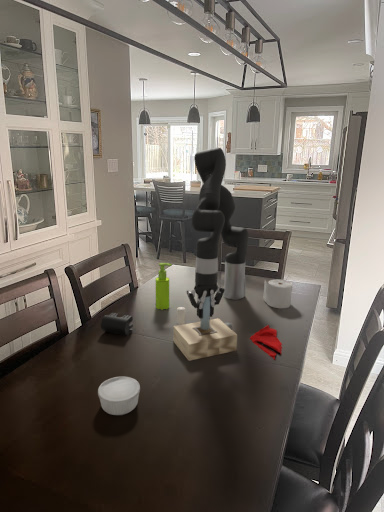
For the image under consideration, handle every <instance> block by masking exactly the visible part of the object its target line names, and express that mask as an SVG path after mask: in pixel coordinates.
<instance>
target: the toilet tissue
mask: <svg viewBox="0 0 384 512" xmlns="http://www.w3.org/2000/svg"><path fill="white" fill-rule="evenodd" d="M263 286H264V287H263V296H262V297H263V300H264V302H265V303H266V304H267V305H268V306H269V307H271V308H275V309H288V308H290V307H291V303H292V292H293V283H292V282H291V281H289V280H286V279H278V278H277V279H270V280H268V281H267V280H266V279H264V285H263Z"/></svg>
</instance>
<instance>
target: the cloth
mask: <svg viewBox="0 0 384 512" xmlns="http://www.w3.org/2000/svg"><path fill="white" fill-rule="evenodd" d="M277 334H278V333H277V329H275V328H271V327H270V326H269V324H267V325H266V326H264V327H262V328H260V329H259V330H258V331H256V332H255V333H254V334H252V335H251V336H250V337H249V340H250V341H251V342H252V343H253V344H254V345H256V347H257V348H259V349H260V350H261V351H263V352H264V353H265V354H267V355H268V357H270V358H272V359H273V360H274V361H276V358H275V357H276V356H277V353H280V355H282V349H283V346H282V345H283V344H282V342H281V341H280V339H279V337H277Z"/></svg>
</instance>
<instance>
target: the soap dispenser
mask: <svg viewBox="0 0 384 512" xmlns="http://www.w3.org/2000/svg"><path fill="white" fill-rule="evenodd" d="M172 265H173V263H169V262H160V263H158V266H159V267H160V269H159V270H158V277H155V308H156V309H157V310H159V309H161V311H164V310H163V309H166V310H168V309H169V308H170V277H167V270H166V269H165V267H166V266H167V267H172Z"/></svg>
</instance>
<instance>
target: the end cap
mask: <svg viewBox="0 0 384 512" xmlns="http://www.w3.org/2000/svg"><path fill="white" fill-rule="evenodd" d="M133 319H134V318H133V315H129V314H124V315H123V316H121V317H119V313H116V312H111V313H110V314H105V315H103V317H102V318H101V321H100V328H101V330H102V332H103V331H104V332H105V333H111V334H116V335H121V336H129V335H130V334H131V333H132V332H133V328H134V323H133Z"/></svg>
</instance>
